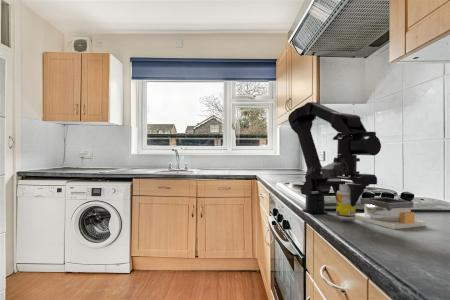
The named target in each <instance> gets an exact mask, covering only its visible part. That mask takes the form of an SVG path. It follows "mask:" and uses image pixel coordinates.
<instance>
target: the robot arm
mask: <svg viewBox="0 0 450 300" xmlns="http://www.w3.org/2000/svg"><path fill="white" fill-rule="evenodd" d="M317 117H318V118H319V119H322V120H323V121H325V122H327V123H329V124H330V126H331V128H332V129H333V130H335V131H336V132H337V134H335V135H334V136H333V137H332V140H333V141H337V147H336V148H337V149H336V150H337V151H336V152H337V156H336V157H334V158H333V160H332V161H333V162H331V163H328V164H326V165H324V166H323V165H322V164H321V161H320V157H319V154H318V151H317V148H316V144H315V141H314V138H313V134H312V127H313V124H314V123H313V121H315V120H316V119H317ZM287 119H288V123H289V126H290V128H291V129H292V131H293V132H294V133H295V134H297V137H298V142H299V144H300V147H301V148H300V149H301V152H302V155H303V158H304V162H305V165H306V172H305V175H304V179H305V182H304V183H303V184H302V185H301V187H300V194H301V195H303V196H305V208H303V209H301V211H303V212H306V213H307V214H311V215H319V214H328V211H327V210H325V205H326V204H325V196H329V195H330V191H331V188H332V191H333V194H334V197H335V200H336V199H337V191H338V190H340V189H339V185H340V184H346V181H351V182H352V183H347V185H348V186H349V188H350V193H351V206H355V207H356V205H357V203H358V201H359V200H360V198H361V196H362V194H363V192H364V191H365V190H366V188H367V187H369V186H370V185H378V177H377V176H376V174H371V173H360V171H357V165H358V164H357V163H359V162H361V159H360V157H358V156H376V155H378V154H379V153H380V151H381V150H382V143H381V141H380V139H379V137H378V136H377V132H376V131H367V130H366V128H365V126H364V124H363V122H362V120H361V119H362V118H361V117H360V116H359V115H357V114H352V113H344V112H339V111H337V110H334V109H332V108H330V107H327V106H325V105H323V104H321V103H319V102H315V101H308V102H306V103H305V104H303V105H301V106H300V107H297V108H295V109H294V110H292V111H291V112H290V113H289V114H288V118H287Z"/></svg>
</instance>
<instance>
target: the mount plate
mask: <svg viewBox="0 0 450 300" xmlns="http://www.w3.org/2000/svg"><path fill="white" fill-rule="evenodd" d="M354 219H357V220H360V221H363V222H366V223H371V224H374V225H377V226H380V227H381V226H382V227H385V228H388V229H392V230H398V229H399V230H400V229H407V228H408V229H409V228H418V227H425V226H426V222H425V221H423V220H419V219H415V218H414V223H407V224H404V223H400V222H385V221H378V220H373V219H370V218H367V217H365V216H364V212H362V213H361V212H360V213H359V212H358V213H355V218H354Z"/></svg>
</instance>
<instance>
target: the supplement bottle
mask: <svg viewBox="0 0 450 300" xmlns="http://www.w3.org/2000/svg"><path fill="white" fill-rule="evenodd" d="M347 184H348V183H347ZM347 184H346V183H345V184H340V185H339V189H340V190H338V191H337V199H336V198H335V200H336V202H335V203H336V205H335V206H336V208H335V210H336V211H335V213H336V214H335V215H336V217H337V218H339V219H343V220H353V219H355V214H356V205H355V206H351V193H350V188H349V186H348V185H347Z"/></svg>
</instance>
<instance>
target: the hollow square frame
mask: <svg viewBox="0 0 450 300" xmlns="http://www.w3.org/2000/svg"><path fill="white" fill-rule="evenodd" d="M361 201H362V204H364V212H363V213H364V216H365V217H367V218H370V219H373V220H378V221H385V222H400V223H404V224H407V223H414V219H415V212H414V211H413V212H412V208H414V202H413V201H409V200H404V199H403V200H402V199H397V198H391V197H387V196H385V197H367V198H365V197H364V198H362V199H361Z"/></svg>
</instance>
